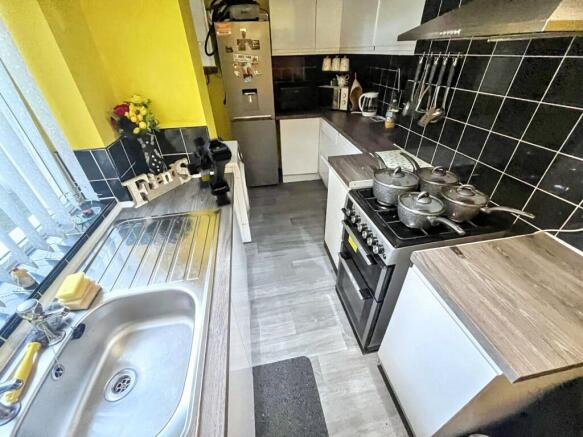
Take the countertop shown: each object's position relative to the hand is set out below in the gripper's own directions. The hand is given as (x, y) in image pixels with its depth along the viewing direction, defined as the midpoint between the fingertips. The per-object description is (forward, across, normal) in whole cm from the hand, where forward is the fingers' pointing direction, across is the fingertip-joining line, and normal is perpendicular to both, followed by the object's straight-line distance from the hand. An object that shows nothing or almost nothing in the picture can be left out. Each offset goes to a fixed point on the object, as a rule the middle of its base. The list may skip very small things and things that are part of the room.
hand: (204, 171), depth 145 cm
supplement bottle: (+4, 0, +6) cm, 7 cm away
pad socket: (+4, 0, +6) cm, 7 cm away
